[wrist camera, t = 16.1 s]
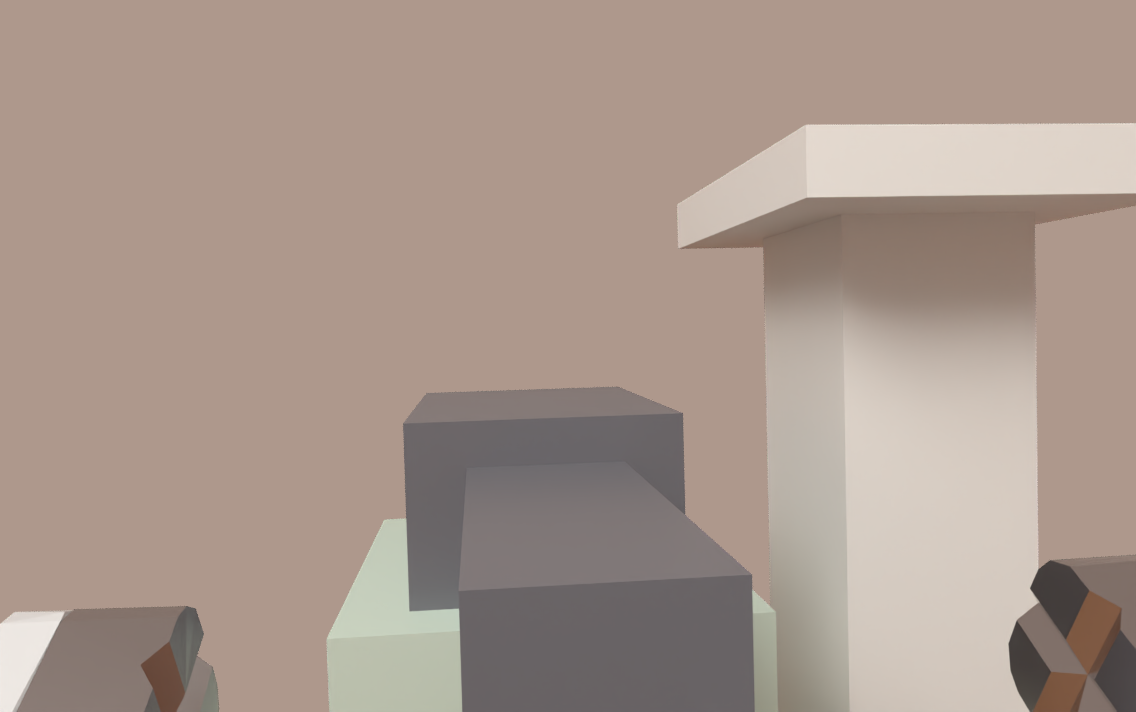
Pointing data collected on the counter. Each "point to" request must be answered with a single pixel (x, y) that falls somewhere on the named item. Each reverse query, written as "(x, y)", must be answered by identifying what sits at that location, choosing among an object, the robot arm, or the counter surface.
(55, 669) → the robot arm
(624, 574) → the grey boxy piece
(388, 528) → the socket block
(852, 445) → the tall shelf
